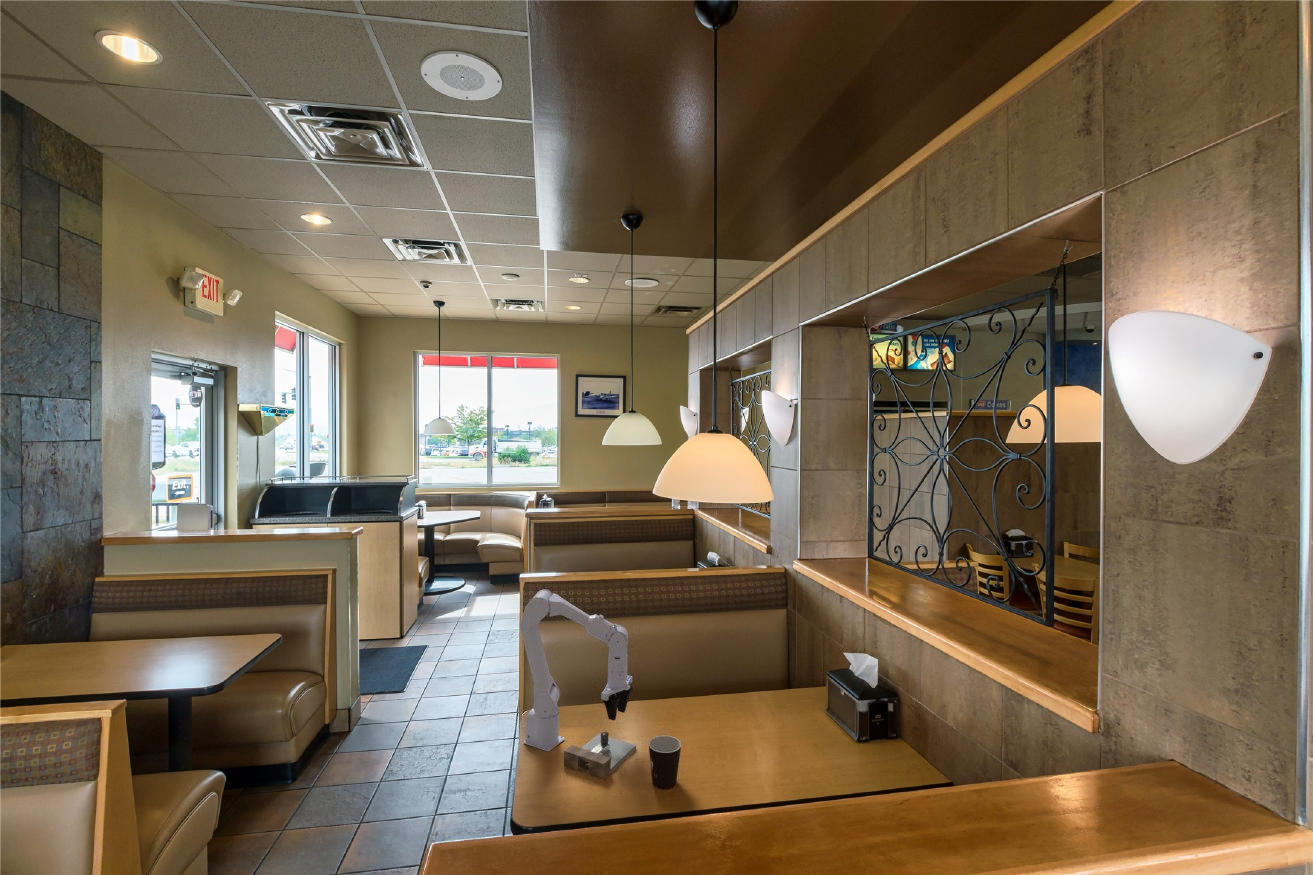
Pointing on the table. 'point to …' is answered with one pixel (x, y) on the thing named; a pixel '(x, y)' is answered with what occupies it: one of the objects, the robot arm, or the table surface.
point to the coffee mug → (664, 761)
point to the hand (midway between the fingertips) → (616, 715)
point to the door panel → (613, 749)
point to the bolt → (602, 744)
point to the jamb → (587, 762)
